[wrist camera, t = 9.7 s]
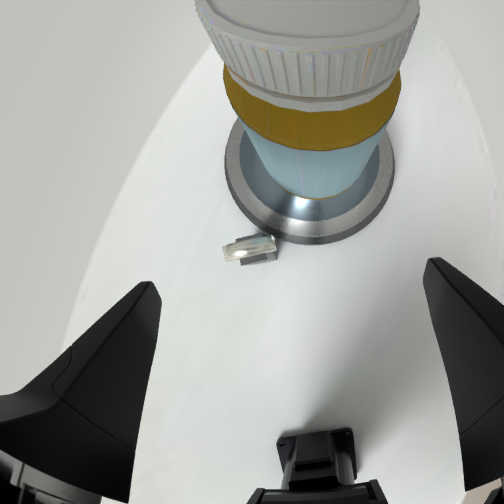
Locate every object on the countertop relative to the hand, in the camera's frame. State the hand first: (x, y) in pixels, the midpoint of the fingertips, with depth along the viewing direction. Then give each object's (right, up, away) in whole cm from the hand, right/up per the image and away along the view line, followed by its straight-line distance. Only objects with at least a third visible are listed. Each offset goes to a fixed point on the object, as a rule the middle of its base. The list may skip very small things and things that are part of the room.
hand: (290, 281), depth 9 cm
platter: (+3, +8, +12) cm, 14 cm away
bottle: (+3, +8, +11) cm, 14 cm away
